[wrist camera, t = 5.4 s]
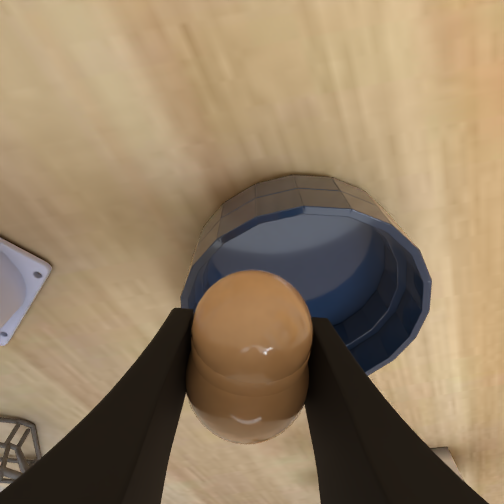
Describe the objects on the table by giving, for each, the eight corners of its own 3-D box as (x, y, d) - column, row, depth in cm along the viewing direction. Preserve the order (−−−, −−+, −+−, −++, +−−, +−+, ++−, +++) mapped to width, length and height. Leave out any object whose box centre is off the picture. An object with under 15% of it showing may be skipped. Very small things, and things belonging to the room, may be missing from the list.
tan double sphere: (290, 362, 13) (306, 471, 10) (194, 358, 13) (176, 469, 10) (318, 251, 10) (355, 352, 7) (192, 242, 10) (165, 343, 6)
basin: (296, 359, 25) (303, 414, 21) (157, 278, 21) (135, 329, 17) (437, 258, 20) (481, 307, 16) (290, 119, 15) (303, 141, 11)
